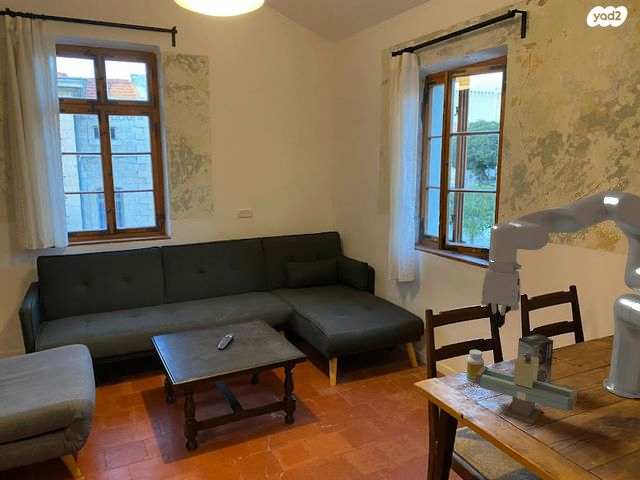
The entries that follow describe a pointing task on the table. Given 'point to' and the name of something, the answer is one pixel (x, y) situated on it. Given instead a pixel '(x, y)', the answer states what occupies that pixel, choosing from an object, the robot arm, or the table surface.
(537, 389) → the beam
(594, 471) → the table surface
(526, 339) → the coffee box
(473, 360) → the supplement bottle
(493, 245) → the robot arm
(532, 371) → the block
